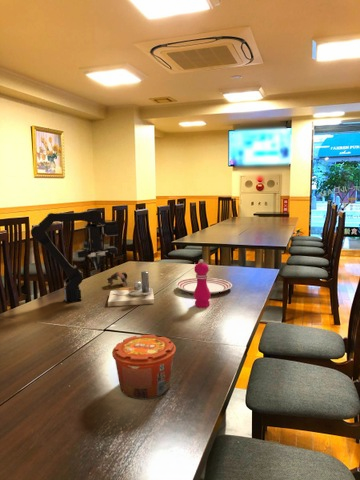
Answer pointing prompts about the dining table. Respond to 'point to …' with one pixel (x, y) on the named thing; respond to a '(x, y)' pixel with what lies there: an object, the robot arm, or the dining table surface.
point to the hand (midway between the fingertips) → (97, 270)
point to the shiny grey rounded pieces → (140, 286)
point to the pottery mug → (115, 277)
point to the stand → (129, 298)
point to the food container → (144, 365)
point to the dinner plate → (212, 284)
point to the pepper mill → (202, 285)
